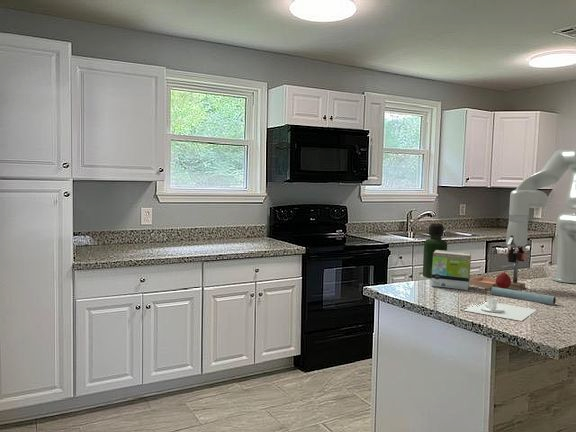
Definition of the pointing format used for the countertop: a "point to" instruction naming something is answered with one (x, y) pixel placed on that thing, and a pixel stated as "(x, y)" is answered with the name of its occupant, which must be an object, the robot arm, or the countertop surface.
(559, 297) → the countertop surface
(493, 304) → the teacup and saucer
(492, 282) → the dish
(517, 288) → the tan frame with plate
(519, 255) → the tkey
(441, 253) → the tea box
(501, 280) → the onion
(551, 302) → the aluminum foil
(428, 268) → the green bottle
